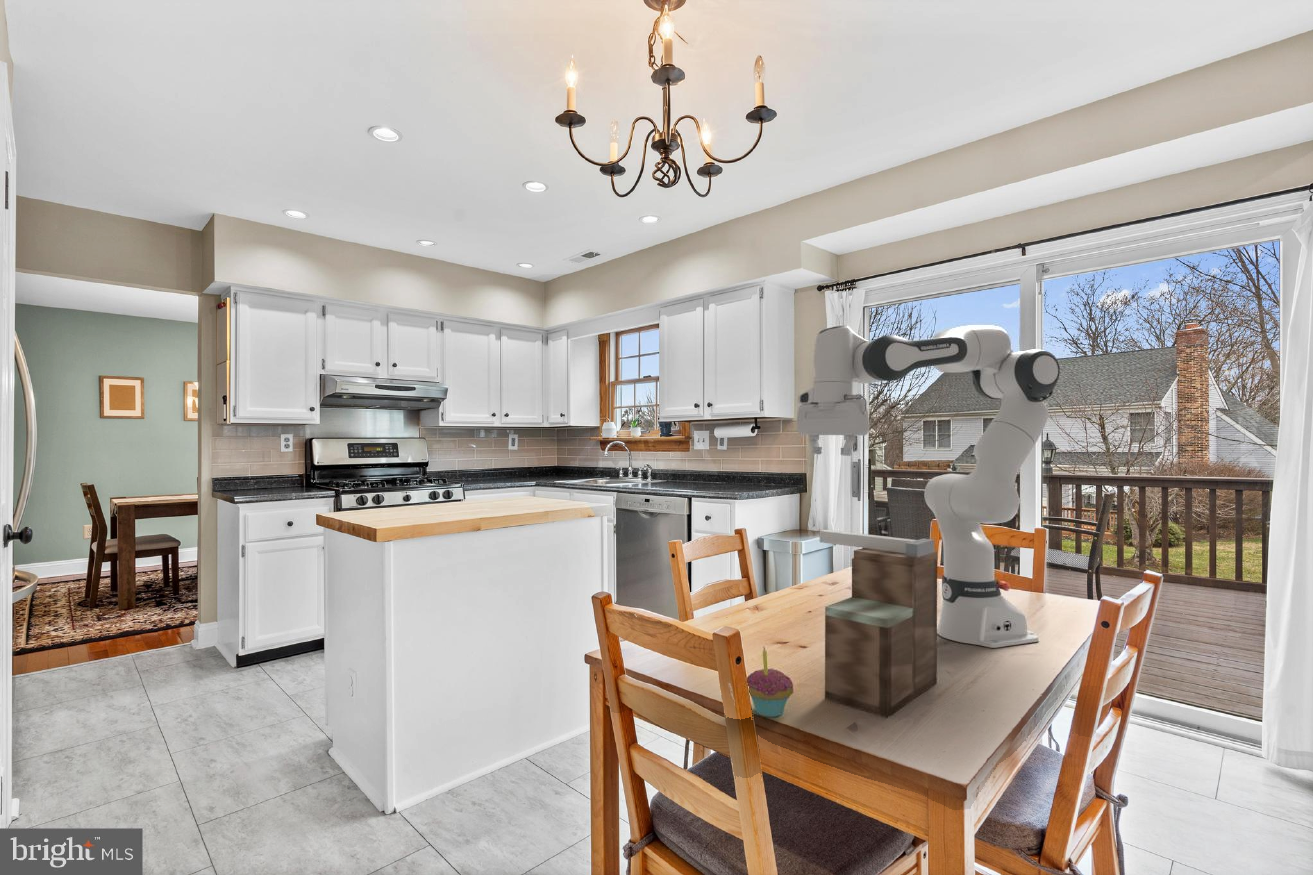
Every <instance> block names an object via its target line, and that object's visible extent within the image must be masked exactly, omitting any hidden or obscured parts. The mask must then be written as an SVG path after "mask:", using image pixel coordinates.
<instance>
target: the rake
mask: <svg viewBox="0 0 1313 875" xmlns="http://www.w3.org/2000/svg"><path fill="white" fill-rule="evenodd" d="M819 543H822V544H823V543H824V544H832V545H839V546H847V547H855V548H860V549H862V548H869V549H877V550H884V551H892V552H900V553H906V556H910V557H917V558H918V557H921V556H924V555H927V554H930V553H933V552H934V551H935V539H933V538H930V539H929V538H920V539H911V538H902V537H894V536H884V535H877V534H876V535H875V534H867V533H858V532H857V533H856V532H849V531H840V530H839V531H838V530H830V529H822V530H819Z"/></svg>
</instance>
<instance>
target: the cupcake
mask: <svg viewBox="0 0 1313 875" xmlns="http://www.w3.org/2000/svg"><path fill="white" fill-rule="evenodd" d="M767 655H768V654H767V650H766V648H765V646H763V650H762V662H763V663H762V664H763V669H759V670H758V669H757V670H755V671H753V672H752V673H750V674H749V675H747V676H746V678H747V683H748V686H749V693H750V695H749V696H750V697H751V699H752V702H753V706H754V709H755V710H754V711H755V712H756V714H758V715H760V716H762V717H766V718H767V717H768V718H769V717H770V718H775V717H779V716H781V715H782V714H783V713H784V710H785V706H786V704H787V701H788V700H789V698H790V697H791V696H792V695H793V694H794V683H793V681H792V679H791V678H790V677H789V675H786V674H784V672H782V671H779V670H778V669H774V668H768V656H767Z"/></svg>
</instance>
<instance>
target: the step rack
mask: <svg viewBox="0 0 1313 875" xmlns="http://www.w3.org/2000/svg"><path fill="white" fill-rule="evenodd" d="M824 619H825V620H824V699H826V700H829V701H832V702H835V703H838V704H842V705H844V706H848V707H852V708H855V709H858V710H861V711H865V712H867V713H871V714H873V715H877V716H881V717H884V718H886V719H888V718H889V717H891V716H893V715H894V714H895V713H896V712H899V710H901V709H903V707H905V706H907V705H908V704H909V703H910V702H912V701H913V699H914V700H915V699H917V698H919V697H920V696H921V695H923V693H925V692H927V691H928V690H930V689H931V688H932V687H933V686H935V685H937V684H938V682H937V681H938V678H937V676H938V673H937V672H938V669H937V668H938V665H937V664H938V661H937V660H938V634H937V628H938V550H934V552H933V553H930V554H927V555H924V556H921V557H918V558H917V557H910V556H906V553H900V552H892V551H884V550H877V549H869V548H858V549H855V550H853V558H851V596H850V597H848V598H845V599H843V600H839V601H837V602H834V603H831V604H829V605H826V606H824Z"/></svg>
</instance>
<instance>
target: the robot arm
mask: <svg viewBox="0 0 1313 875" xmlns="http://www.w3.org/2000/svg"><path fill="white" fill-rule="evenodd" d="M1011 343H1012V342H1011V338H1010V336H1009V334H1008V332H1007V331H1006V330H1005V329H1003V328H1002V327H999V326H995V325H985V324H983V325H982V324H981V325H980V324H978V325H977V324H974V325H964V326H957V327H953V328H949V329H945V330H942V331H939V332H937V333H935V334H934V336H932V338H926V339H925V338H924V339H915V340H912V339H907V338H904V337H902V336H898V335H893V334H887V335H883V336H881V337H878V338H876V339H873V340H867V339H865V338H863V337H862V336H860V335H858V334H857V333H856V332H855V331H854V330H853V329H852V328H851V327H850V326H847V325H837V326H832V327H827V328H825V329H822V330H821V331H819V332H818V333H817V336H816V338H815V343H814V350H813V352H814V353H813V367H814V368H813V369H814V371H815V372H814V378H813V381H812V385H813V386H812V387H811V388H809V389H808V390H807V391H804V392H802V393H801V394H799V395H798V396H797V403H798V404H800V405H799V406H798V408H797V415H796V416H797V417H796V430H797V432H798V434H799V435H803V436H808V441H809V444H810V447H811V453H812V455H822V449H823V447H822V446H820V443H819V440H820V436H843V439H844V441H845V442H844V445H843V447H840V455H841V456H845V457H850V456H851V455H852V448H853V446H854V445H855V442H856V436H867V435H868V433H869V431H870V421H869V420H870V419H869V411H868V410H869V409H868V402H867V399H866V398H865V397H864V396H863V395H862V394H861V393H860V394H858V393H856V394H853V383H858V384H872V383H879V382H894V381H898V380H900V379H902V378H903V377H905V376H907V375H908V374H910V373H911V372H913V371H914V370H917V369H921V368H922V369H923V368H929V367H934V368H935V369H936V370H937V371H939V372H941V373H956V374H957V373H965V372H966V373H967V372H971V375H972V376H971V378H972V384H973V386H974V389H975V391H976V393H978V395H980V396H981V397H982V398H986V399H990V400H1001V403H1000V408H999V410H998V412H997V413H996V415H995V416H994V418H993V419H992V420H991V421H990V423H989V424H988V426H987V427H986V429H985V431H984V432H983V434H982V435H981V436H980V438H979V439H978V441H977V442H976V443H975V445H974V447H973V455H974V459H975V460H976V463H975V466H974V468H973V470H972V471H971V472H970V473H968V474H962V473H961V474H960V473H945V474H942V475H938V476H934V477H932V478H931V479H930V480H929V481H928V482H927V484H926V485H925V488H924V492H923V493H924V494H923V495H924V501H925V503H926V506H928V508H929V509H930V510H931V511H932V513H933V515H934V518H935V519H936V522H937V524H938V525H937V526H938V528H939V531H940V536H941V539H942V547H943V574H942V575H941V596H942V604H941V605H942V606H941V612H940V616H939V617H940V618H939V621H938V624H937V635H938V636H940V637H941V638H944V639H947V640H951V641H954V642H958V643H963V644H970V645H976V646H981V647H986V648H992V649H996V648H1002V647H1009V646H1016V645H1023V644H1029V643H1036V642H1039V641H1040V640H1039V636H1038V635H1037V634H1036V633H1035V632H1033V631H1031V630H1029V629H1028V623H1027V618H1026V615H1025V614H1024V612H1023V611H1022V609H1020V608H1018V607H1017V606H1016V605H1015V604H1013V603H1012V602H1011V601H1009V599H1007V598H1006V597H1005V596H1004V595H1002V592H1001V590H1003V591H1005V592H1008V591H1010V589H1011V584H1010V582H1007V581H1004V580H1000V581H999V580H997V579H996V578H995V549H994V545H993V544H992V542H991V540H989V539H988V538H987V536H986V535H985V533H984V530H983V528H982V525H981V524H985V525H989V524H990V525H992V524H993V525H994V524H1001V523H1007V522H1009V521H1011V520H1012V519H1013V518H1014V517H1015V516H1016V514H1017V512H1019V511H1018V510H1019V508H1020V496H1019V493H1018V491H1017V488H1016V481H1017V480H1016V479H1017V475H1018V473H1019V470H1020V468H1021V467H1022V465H1023V464H1024V462H1025V461H1026V459H1027V458H1028V456H1029V455H1030V452H1031V451H1032V450H1033V448H1034V447H1035V445H1036V443H1037V442H1038V441H1039V439H1040V436H1041V435H1042V433H1043V431H1044V428H1045V426H1046V424H1047V422H1048V418H1049V413H1050V412H1049V409H1048V407H1047V406H1048V405H1046V404H1045V402H1044V401H1046V400H1048V399H1049V398H1050V397H1051V396H1052V395H1053V391H1054V389H1055V388H1056V386H1057V384H1058V381H1059V379H1060V372H1061V369H1060V363H1059V360H1058V359H1057V357H1056V356H1055V355H1054V354H1053V353H1052V352H1050V351H1048V350H1047V351H1046V350H1044V349H1043V350H1042V349H1029V350H1024V351H1016V352H1015V351H1014V350H1012V346H1011Z"/></svg>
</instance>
